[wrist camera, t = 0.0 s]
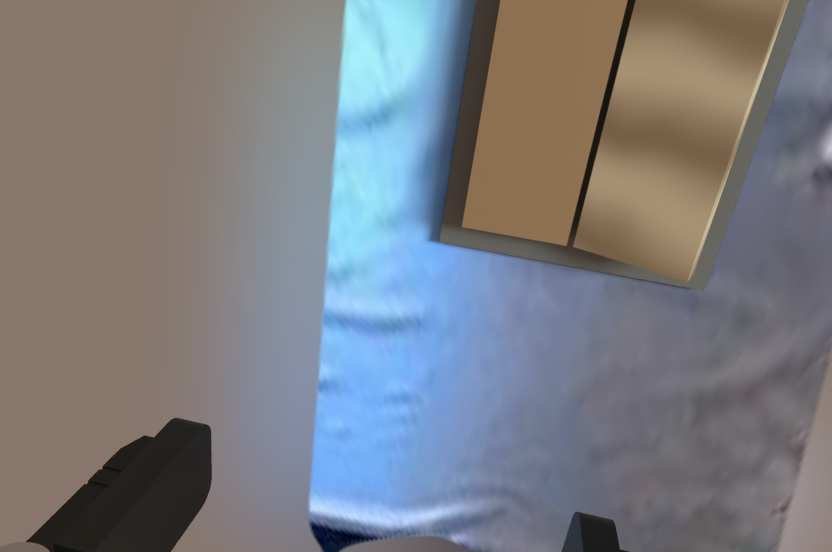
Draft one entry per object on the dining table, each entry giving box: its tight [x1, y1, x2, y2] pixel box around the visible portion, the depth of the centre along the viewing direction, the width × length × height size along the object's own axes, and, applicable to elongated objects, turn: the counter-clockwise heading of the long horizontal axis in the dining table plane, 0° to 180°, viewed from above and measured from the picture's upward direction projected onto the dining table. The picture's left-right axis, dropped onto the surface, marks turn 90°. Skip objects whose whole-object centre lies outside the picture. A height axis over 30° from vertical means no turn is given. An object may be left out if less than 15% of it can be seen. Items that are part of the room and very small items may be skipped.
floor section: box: [439, 0, 809, 291], centre depth 35 cm, size 20×18×3 cm
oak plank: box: [573, 0, 789, 282], centre depth 33 cm, size 16×7×2 cm, turn 172°
